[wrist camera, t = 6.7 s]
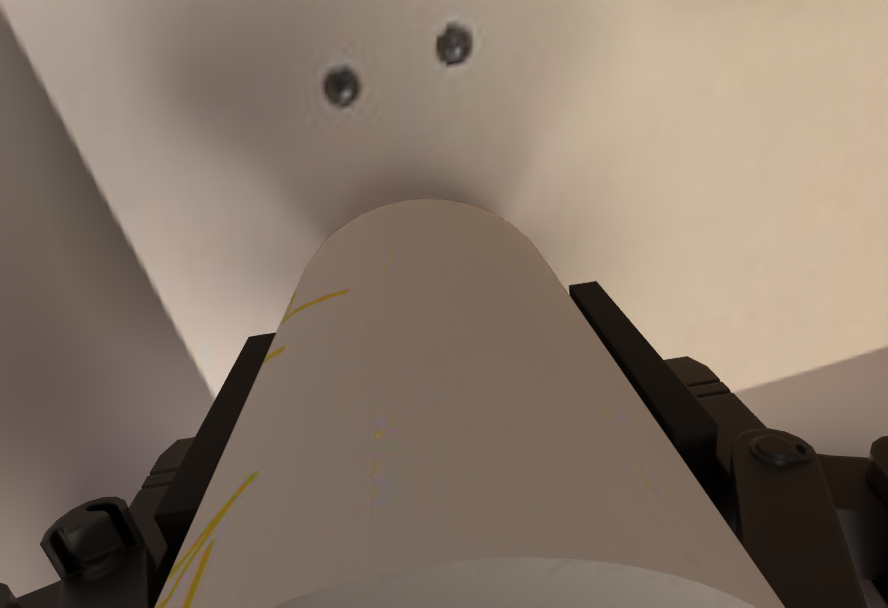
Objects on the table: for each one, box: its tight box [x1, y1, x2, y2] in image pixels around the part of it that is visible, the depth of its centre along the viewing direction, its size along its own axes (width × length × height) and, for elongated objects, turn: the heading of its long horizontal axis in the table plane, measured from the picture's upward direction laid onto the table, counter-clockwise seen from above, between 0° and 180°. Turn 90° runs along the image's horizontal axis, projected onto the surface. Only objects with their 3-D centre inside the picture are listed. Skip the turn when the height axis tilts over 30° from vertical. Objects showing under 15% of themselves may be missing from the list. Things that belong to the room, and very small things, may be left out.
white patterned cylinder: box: [155, 199, 785, 608], centre depth 12 cm, size 8×8×12 cm
